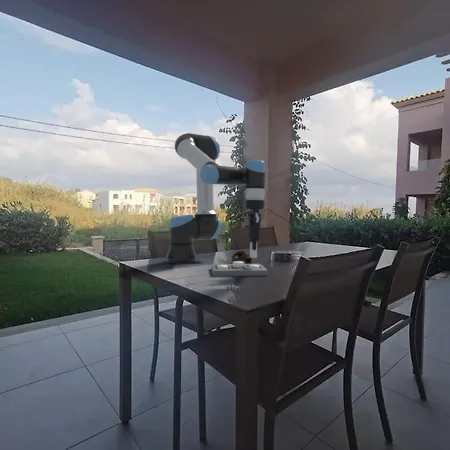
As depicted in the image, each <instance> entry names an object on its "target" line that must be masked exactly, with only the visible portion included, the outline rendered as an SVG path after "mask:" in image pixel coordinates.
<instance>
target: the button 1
mask: <svg viewBox="0 0 450 450" xmlns="http://www.w3.org/2000/svg"><path fill="white" fill-rule="evenodd" d="M217 269H228V266H227V265H217Z"/></svg>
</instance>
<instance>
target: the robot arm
mask: <svg viewBox="0 0 450 450" xmlns="http://www.w3.org/2000/svg"><path fill="white" fill-rule="evenodd" d="M174 149H175V152H176V154H177V155H178V156H179V157H180V158H181V159H184V160H186V161H187V162H188V163H190V165H191V166H193V167H194V168H195V170H196V171H195V172H196V212H195V213H194V215H193V214H183V215H175V216H172V217H170V219H169V226H168V227H169V248H168V251H167V254H166V258H165V262H166V263H167V264H173V265H177V264H178V265H181V264H182V265H183V264H184V265H189V264H195V263H197V261H198V259H197V255H196V252H195V247H194V241H201V240H202V241H203V240H204V241H205V240H215V239H217V238H218V236H219V235H220V233H221V231H222V222H221V219H220V218H219V217H217V212H216V211H215V210H214V208H215V207H214V185H227V186H234V187H241V186H245V190H244V194H245V199H246V200H245V209H246V210H250V212H249V213H248V233H249V235H248V236H249V237H248V239H249V242H250V243H249V255H250V258H251V259H252V258H253V259H256V258H258V242H259V240H260V230H261V220H262V217H261V214H260V210H265V198H266V197H265V196H266V195H265V194H266V193H265V192H266V191H265V187H266V185H265V184H266V172H267V171H266V163H265V161H264V160H261V159H251V160H247V161H246V166H244V167H239V166H238V167H236V166H227V165H219V164H218V163H216V160H218V158H219V157H220V153H221V147H220V143H219V141H218V140H217V138H216V137H215V136H210V135H204V134H198V133H197V134H195V133H191V132H186V133H182V134H181V135H179V136H178V137H177V138H176V139H175V142H174Z"/></svg>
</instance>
